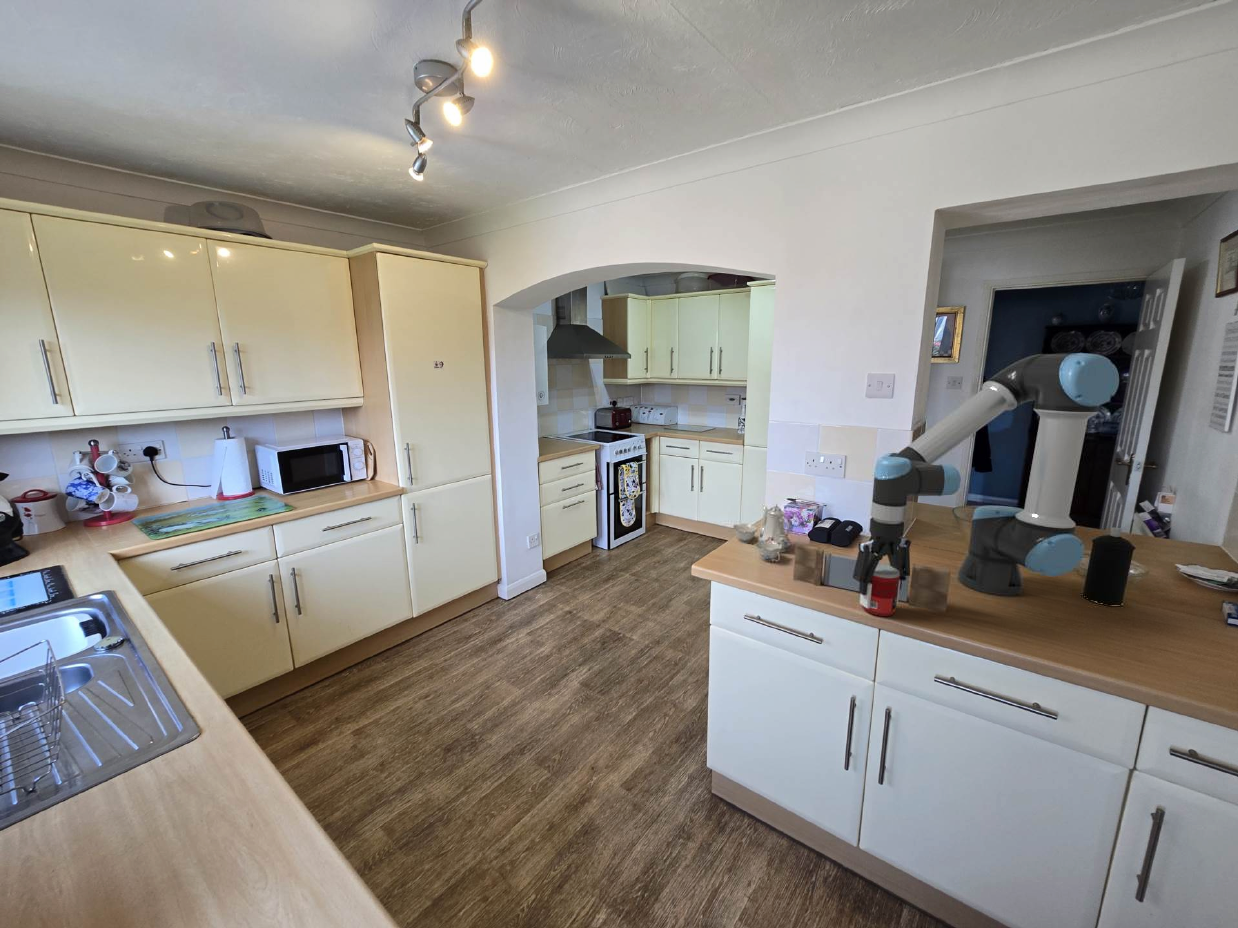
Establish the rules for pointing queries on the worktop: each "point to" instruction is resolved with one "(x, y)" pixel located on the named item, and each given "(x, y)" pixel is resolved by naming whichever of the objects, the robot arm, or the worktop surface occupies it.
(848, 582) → the door leaf
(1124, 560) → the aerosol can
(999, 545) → the robot arm
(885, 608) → the canned food
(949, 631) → the worktop surface
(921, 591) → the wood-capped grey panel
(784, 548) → the chinaware
